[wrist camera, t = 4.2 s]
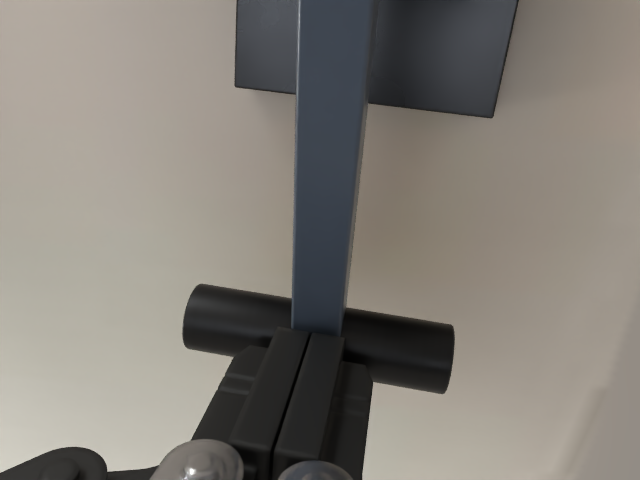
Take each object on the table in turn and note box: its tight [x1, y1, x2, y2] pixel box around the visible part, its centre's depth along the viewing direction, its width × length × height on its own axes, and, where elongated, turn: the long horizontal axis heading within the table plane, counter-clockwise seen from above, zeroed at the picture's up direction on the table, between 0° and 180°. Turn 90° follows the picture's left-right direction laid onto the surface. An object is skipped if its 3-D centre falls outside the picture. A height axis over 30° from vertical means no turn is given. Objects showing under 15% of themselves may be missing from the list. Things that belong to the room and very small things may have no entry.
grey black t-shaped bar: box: [183, 0, 455, 394], centre depth 10 cm, size 12×6×2 cm, turn 175°
